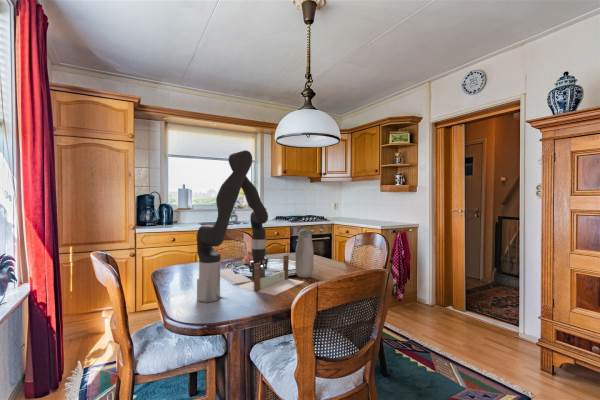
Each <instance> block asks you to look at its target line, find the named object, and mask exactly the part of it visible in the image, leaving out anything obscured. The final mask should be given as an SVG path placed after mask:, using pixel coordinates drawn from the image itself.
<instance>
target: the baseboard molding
mask: <svg viewBox="0 0 600 400" xmlns="http://www.w3.org/2000/svg"><path fill="white" fill-rule="evenodd" d="M231 269H232V268H227V267H226V266H223V267H222V269H220V277H222V278H223V279H224V280H226V281H227V282H229V283H230V284H231V285H232V286H236V285H238V286H239V285H244V284H247V283H249V282H252V279H250V278H249V277H247V276H245V275H244V274H242V275H238V274H235V273H234V272H233V271H232V270H231ZM243 275H244V276H243Z"/></svg>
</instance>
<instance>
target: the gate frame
mask: <svg viewBox="0 0 600 400" xmlns="http://www.w3.org/2000/svg"><path fill="white" fill-rule="evenodd" d="M289 259H290V257H289V255H287V254H284V255H283V261H282V263H283V265H282V266H283V267H282V268H283V270H282V271H285V280H287V279H289V261H290V260H289ZM253 281H254V291H253V292H256V293H257V292H258V291H260V264H259V263H256V264H254V280H253ZM258 293H259V292H258Z"/></svg>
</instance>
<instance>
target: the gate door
mask: <svg viewBox="0 0 600 400" xmlns="http://www.w3.org/2000/svg"><path fill="white" fill-rule="evenodd" d="M265 276H266V277H264V278H261V279H260V289H262V288H264V287H267V286H269V285H272V284H274V283H277V282H279V281H282V280H284V279H285V271H283V270H280V271H278V272H275V273H271V274H269V275H265Z"/></svg>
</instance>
